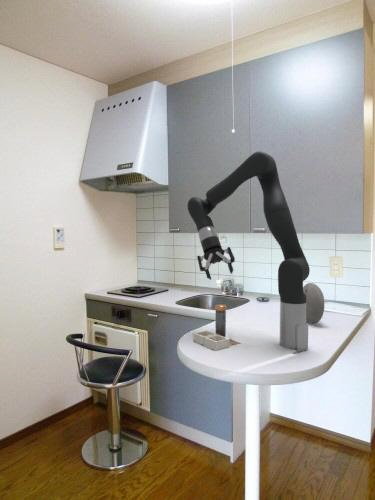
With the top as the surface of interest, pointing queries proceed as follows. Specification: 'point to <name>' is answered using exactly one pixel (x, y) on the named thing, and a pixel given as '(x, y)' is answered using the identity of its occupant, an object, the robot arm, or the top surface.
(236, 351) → the top surface
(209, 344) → the brass-tag socket
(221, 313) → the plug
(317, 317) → the grey round disc
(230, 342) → the board
